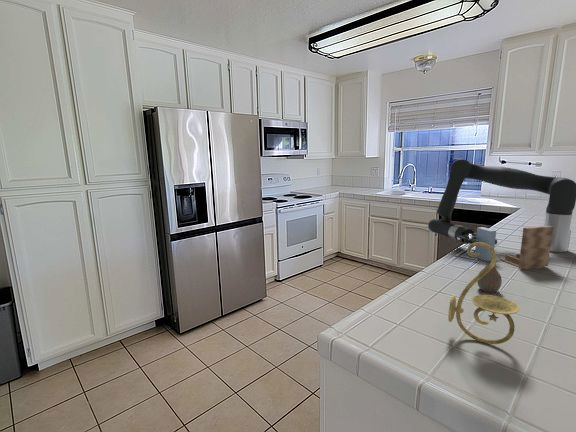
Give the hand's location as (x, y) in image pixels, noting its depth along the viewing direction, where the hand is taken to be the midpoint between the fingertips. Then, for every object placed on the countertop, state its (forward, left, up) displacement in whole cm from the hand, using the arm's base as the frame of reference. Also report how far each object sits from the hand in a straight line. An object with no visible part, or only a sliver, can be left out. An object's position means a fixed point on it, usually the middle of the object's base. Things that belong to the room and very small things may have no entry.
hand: (487, 242), depth 137 cm
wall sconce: (+49, +53, -7) cm, 72 cm away
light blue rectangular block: (0, -1, -7) cm, 7 cm away
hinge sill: (-9, +8, -7) cm, 14 cm away
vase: (+24, +28, -7) cm, 37 cm away
